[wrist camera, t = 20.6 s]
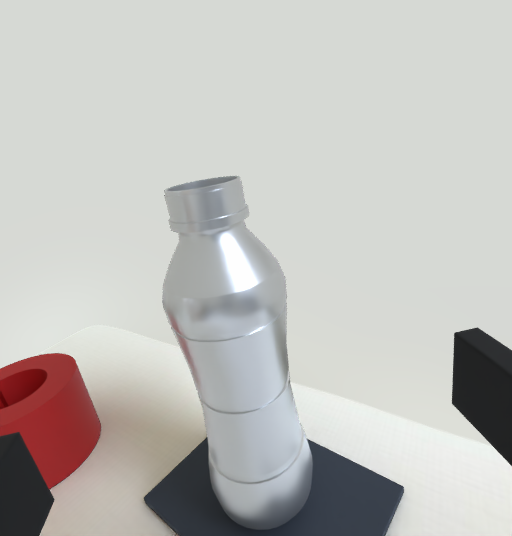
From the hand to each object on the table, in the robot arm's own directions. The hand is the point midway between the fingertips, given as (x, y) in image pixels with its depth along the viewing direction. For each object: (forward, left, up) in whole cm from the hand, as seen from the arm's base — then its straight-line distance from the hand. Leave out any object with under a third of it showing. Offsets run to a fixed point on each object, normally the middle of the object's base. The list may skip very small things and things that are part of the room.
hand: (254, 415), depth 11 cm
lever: (+29, +4, -14) cm, 33 cm away
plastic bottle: (+6, -5, -14) cm, 16 cm away
